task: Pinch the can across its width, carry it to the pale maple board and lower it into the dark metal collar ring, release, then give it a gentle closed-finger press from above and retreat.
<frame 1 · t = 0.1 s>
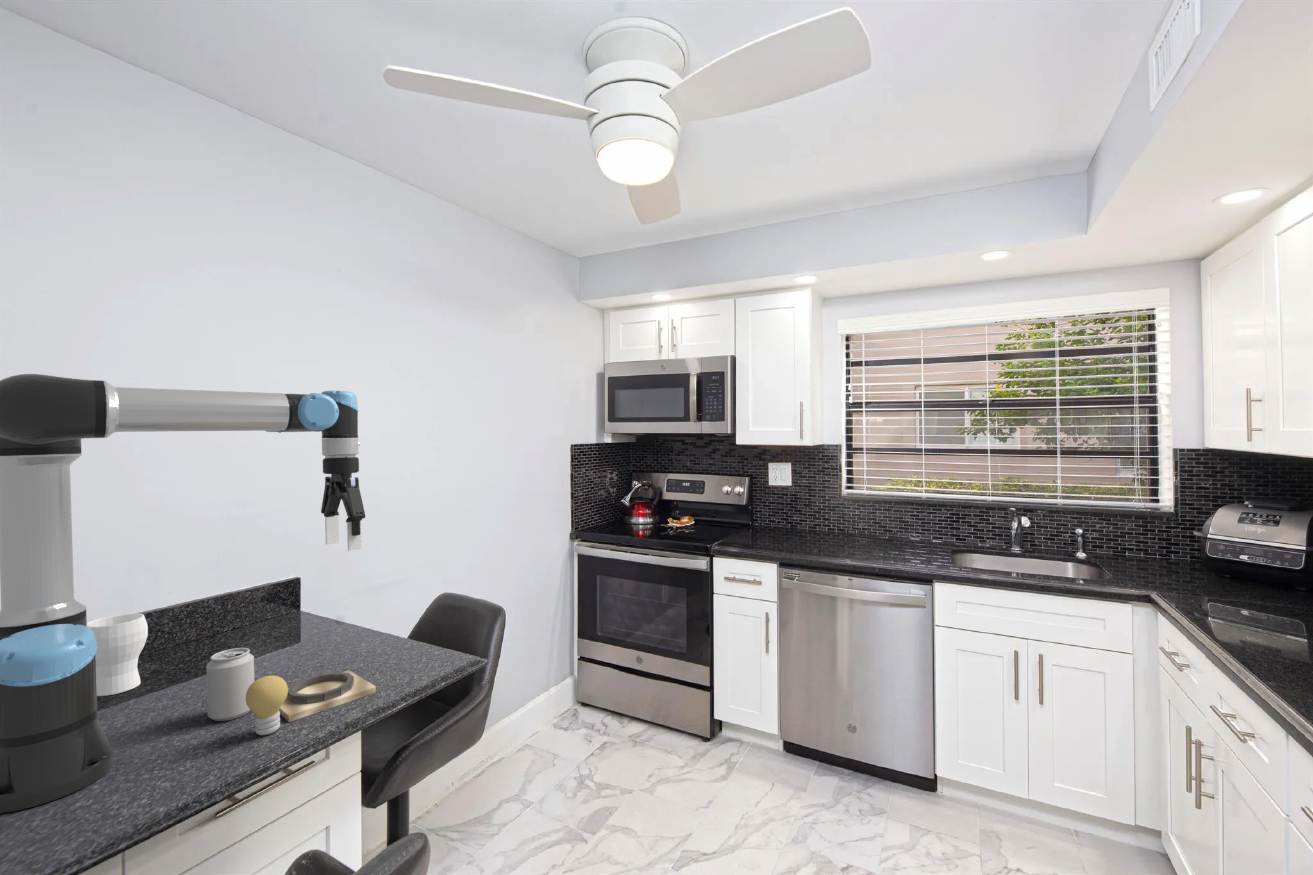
hand: (343, 546, 136), 28 cm above the worktop, fingers open, 13 cm apart
cup: (116, 689, 126), on the worktop
board: (321, 696, 119), on the worktop
light bulb: (268, 732, 105), on the worktop
can: (232, 714, 113), on the worktop
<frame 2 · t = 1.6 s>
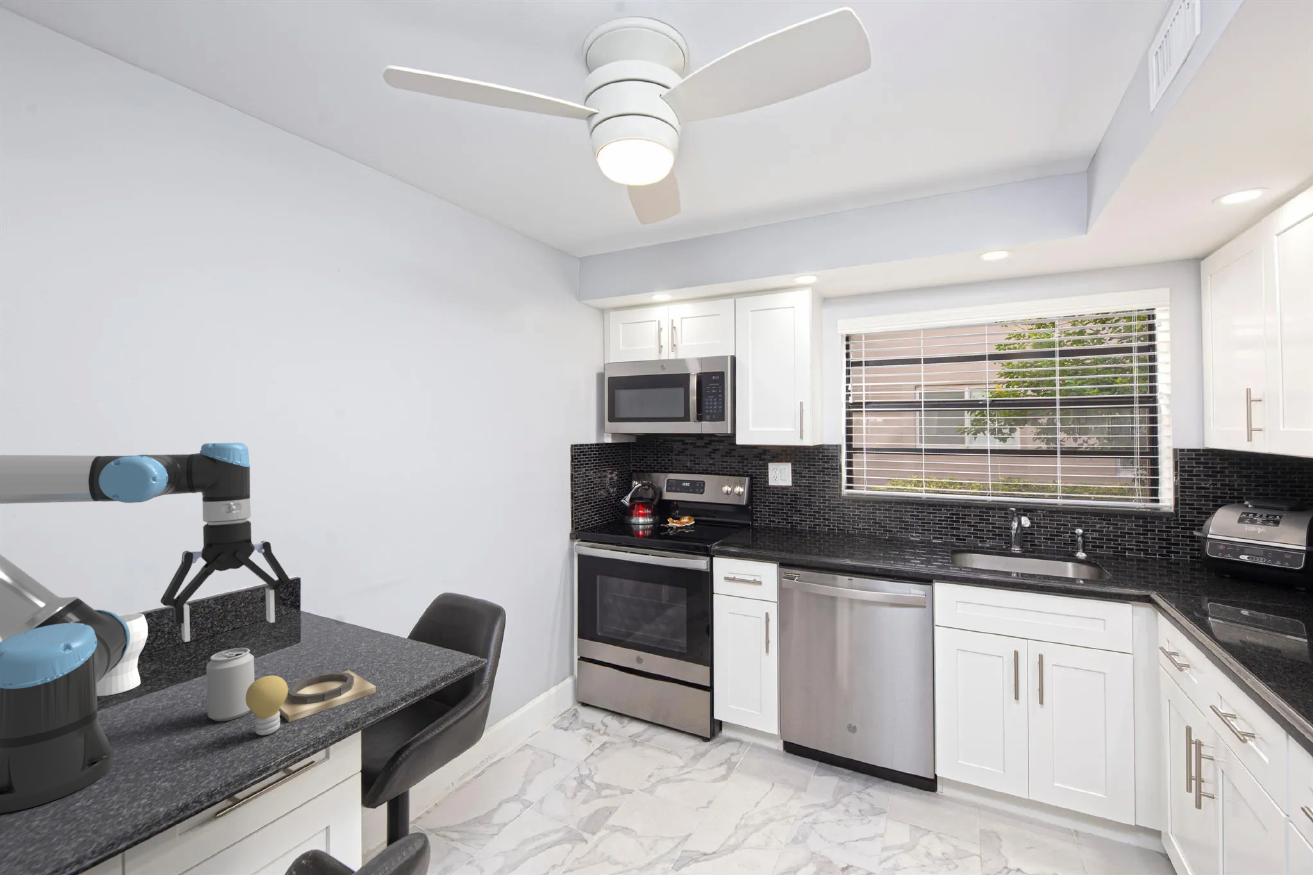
hand: (230, 630, 113), 16 cm above the worktop, fingers open, 13 cm apart
nothing on the worktop moved.
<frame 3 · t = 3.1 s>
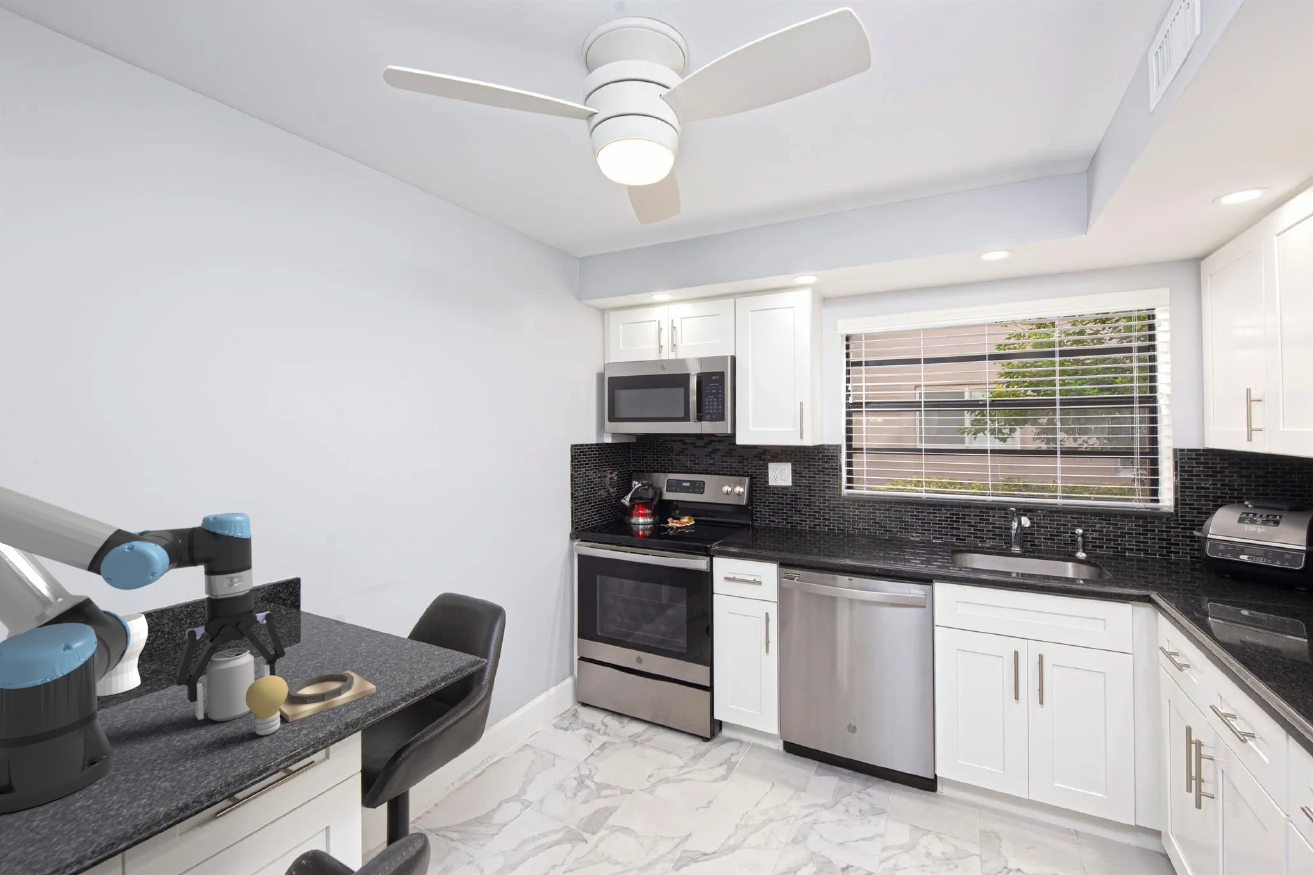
hand: (234, 705, 113), 1 cm above the worktop, fingers open, 10 cm apart
nothing on the worktop moved.
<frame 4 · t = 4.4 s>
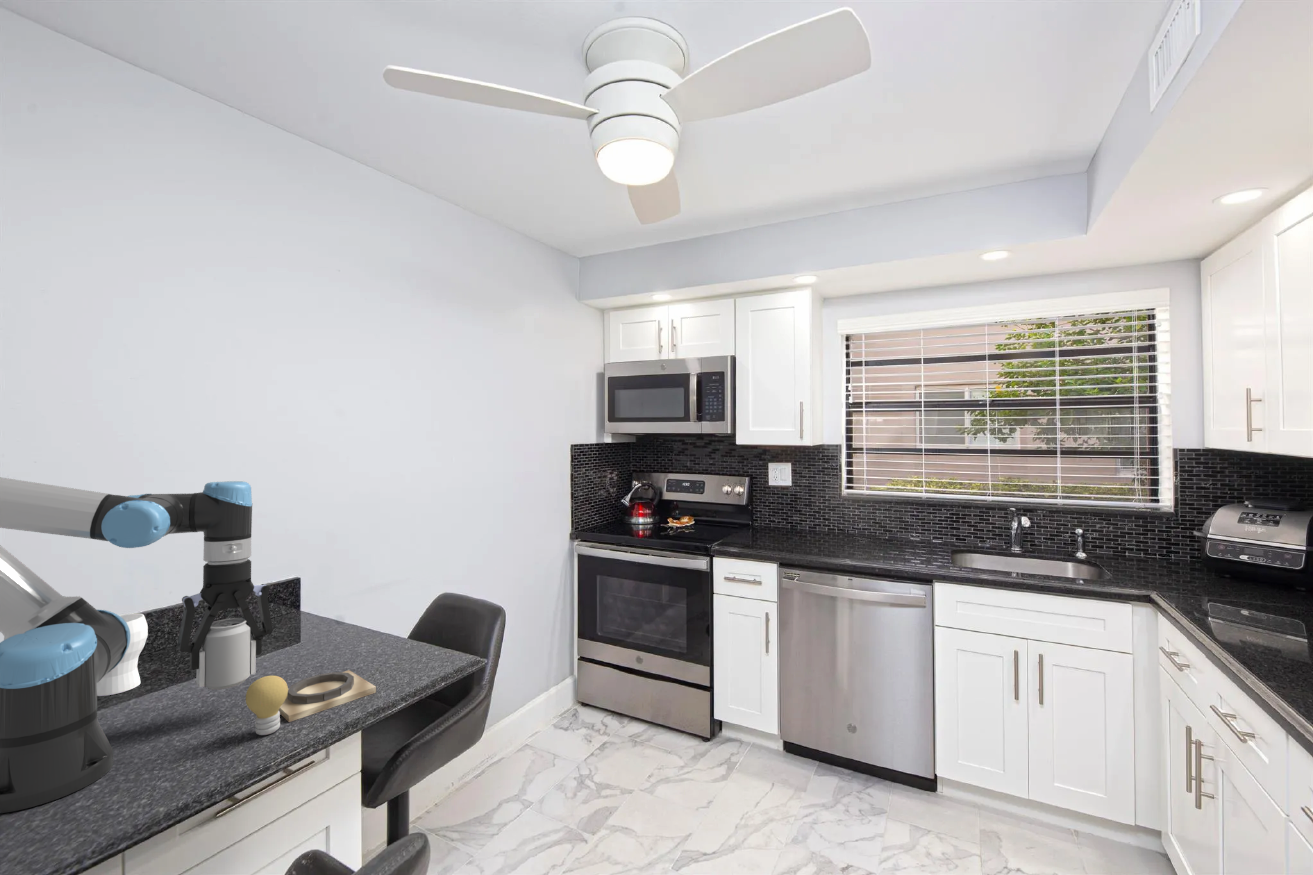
hand: (226, 678, 112), 7 cm above the worktop, fingers closed on can, 7 cm apart
can: (226, 684, 112), point 6 cm above the worktop, touching gripper
everything else where it was.
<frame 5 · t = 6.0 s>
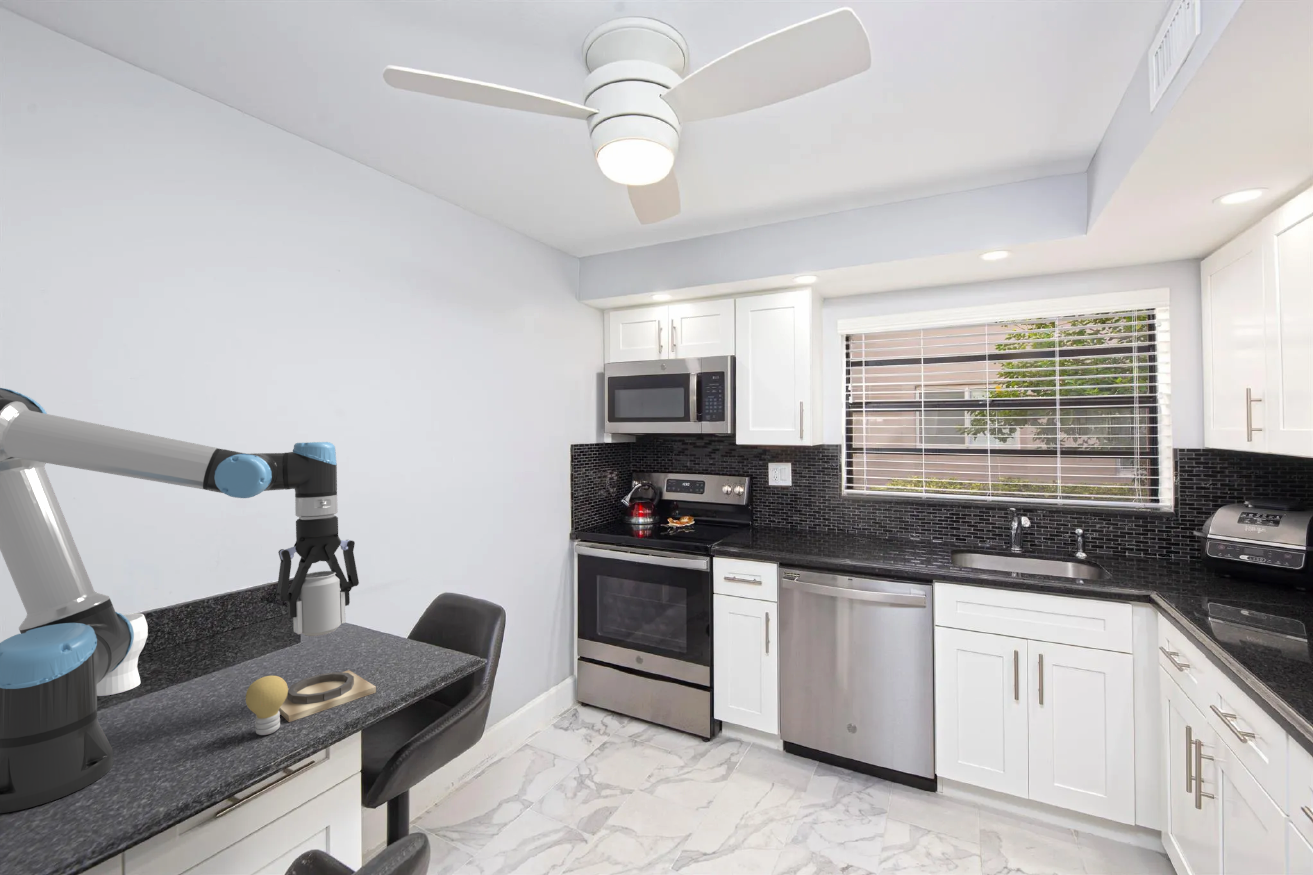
hand: (320, 626, 119), 14 cm above the worktop, fingers closed on can, 7 cm apart
can: (320, 632, 119), point 13 cm above the worktop, touching gripper
everything else where it was.
when the fingers open (4 cm above the worktop, at t = 8.1 s): can drops 2 cm, resting on board.
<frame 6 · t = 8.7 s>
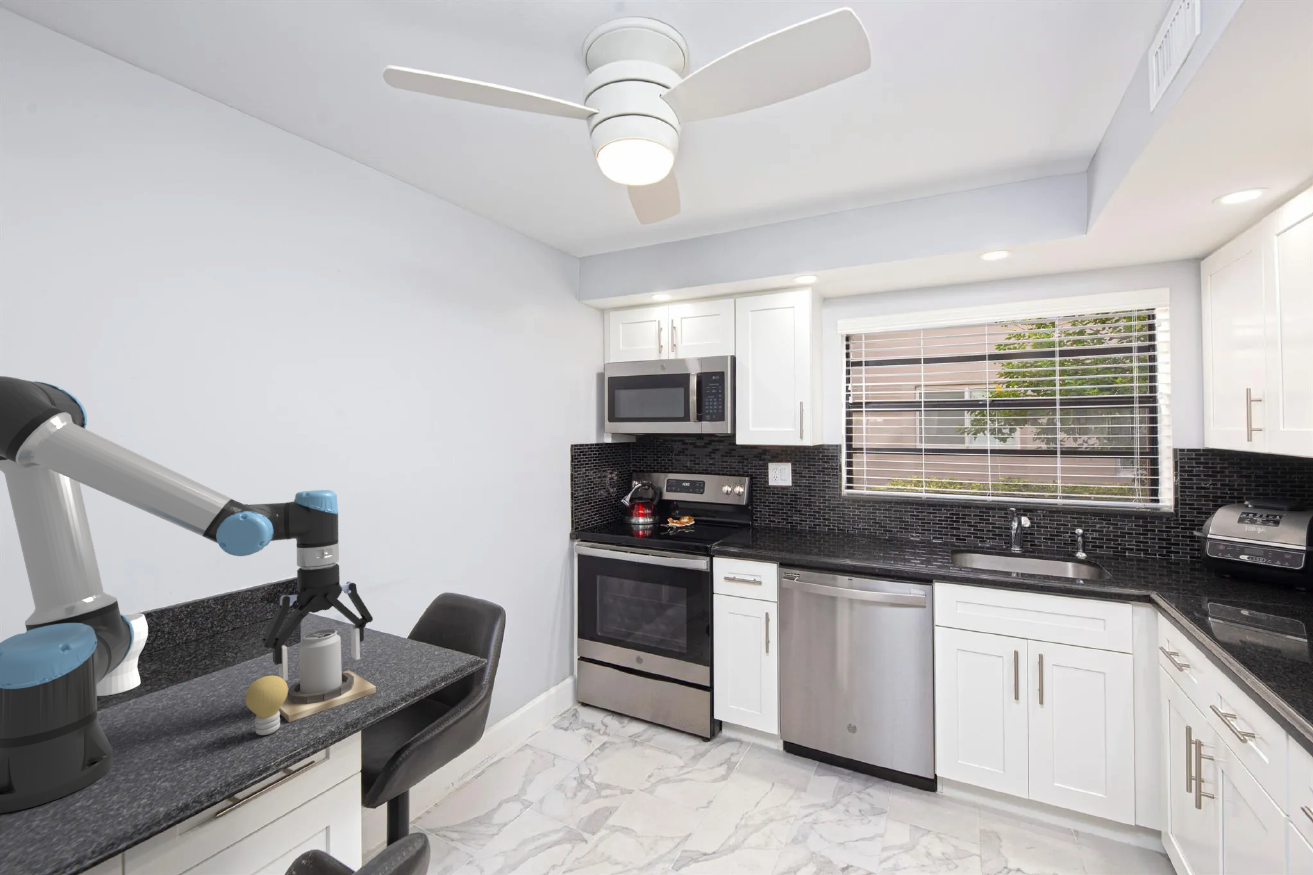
hand: (321, 668, 119), 6 cm above the worktop, fingers open, 13 cm apart
can: (321, 691, 119), point 1 cm above the worktop, touching board
everything else where it was.
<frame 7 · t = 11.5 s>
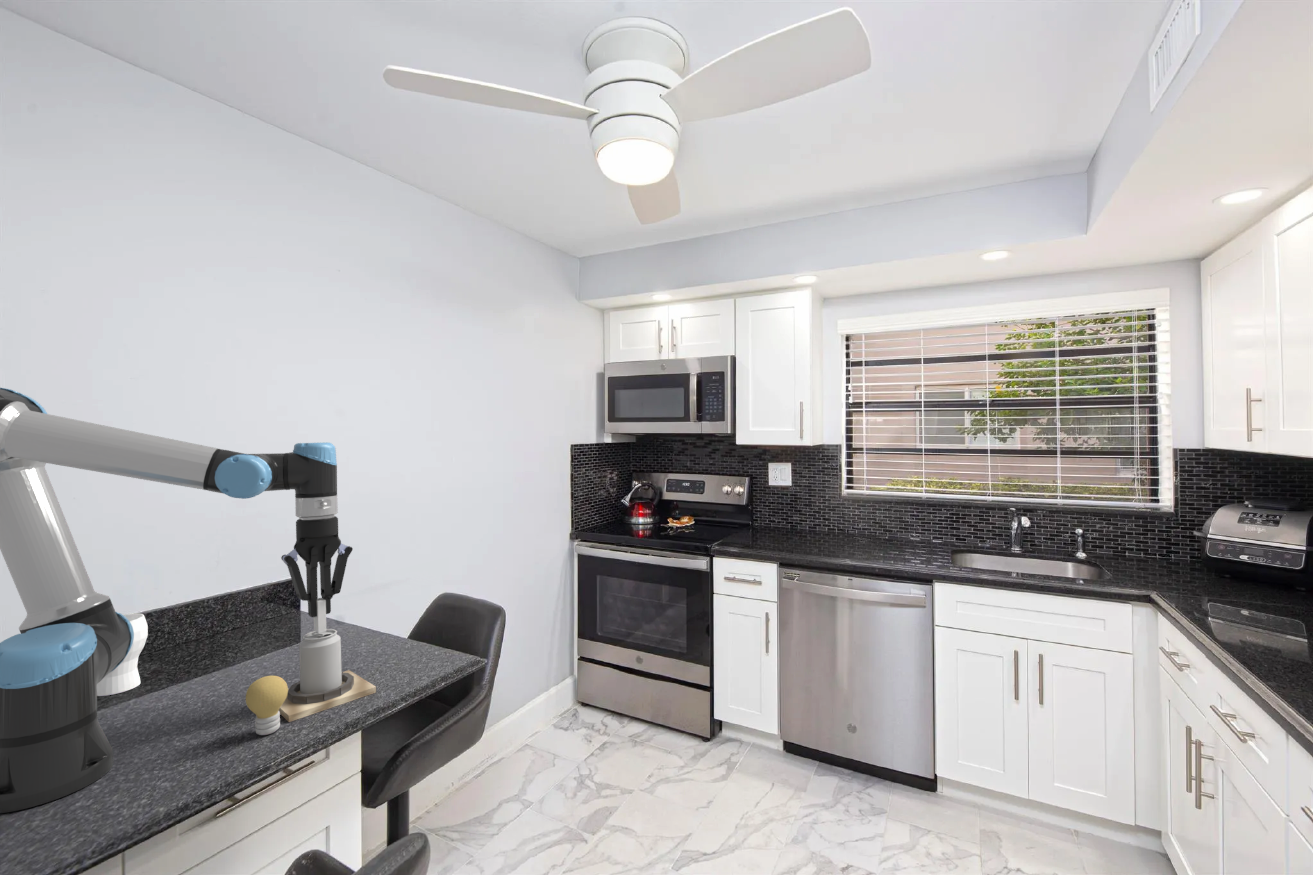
hand: (320, 630, 119), 14 cm above the worktop, fingers closed
nothing on the worktop moved.
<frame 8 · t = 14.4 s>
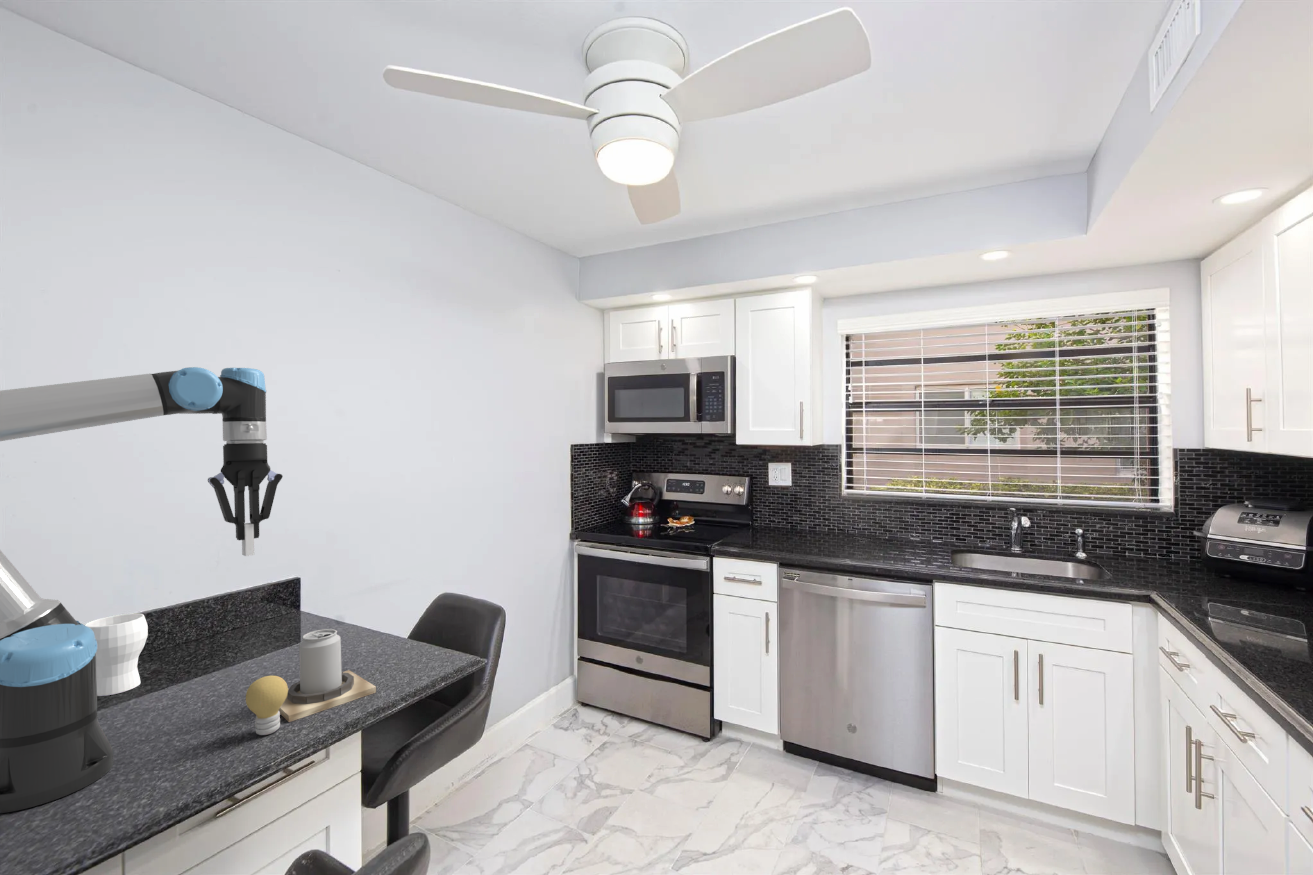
hand: (248, 554, 121), 29 cm above the worktop, fingers closed
nothing on the worktop moved.
at the end: can 0.1 cm from the board (horizontally); can point 1.0 cm above the worktop; can tilted 0° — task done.
